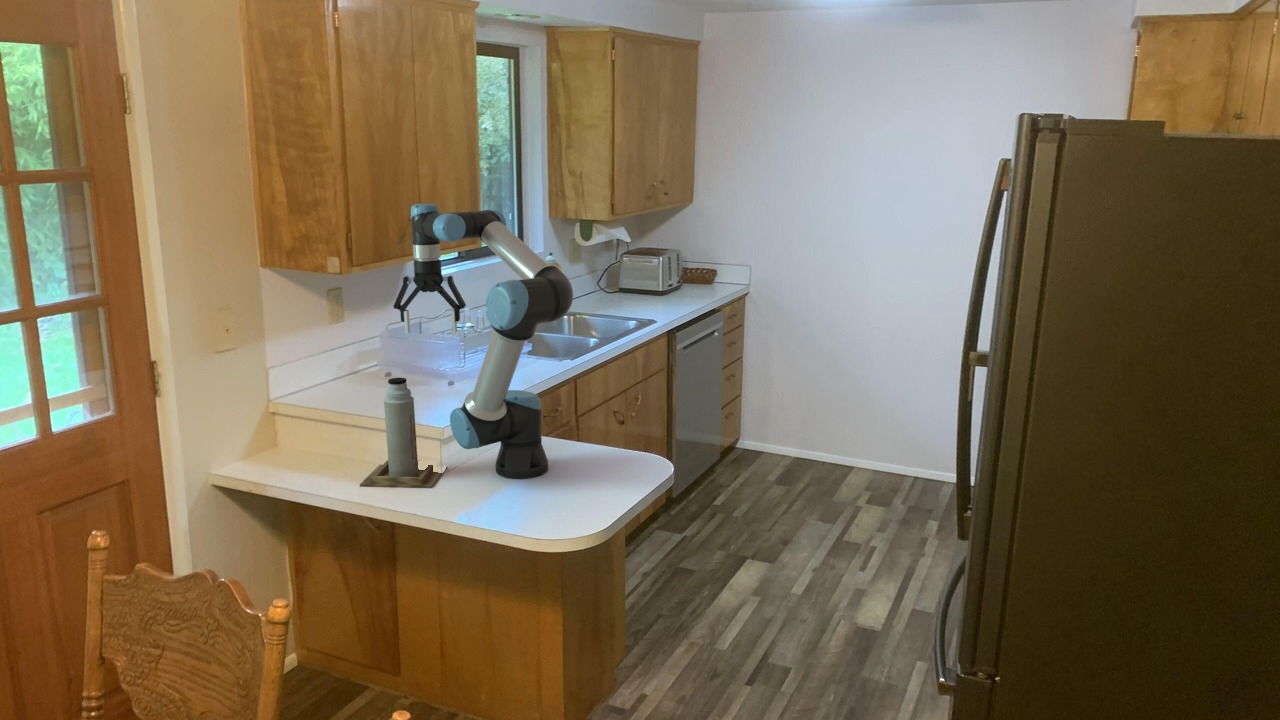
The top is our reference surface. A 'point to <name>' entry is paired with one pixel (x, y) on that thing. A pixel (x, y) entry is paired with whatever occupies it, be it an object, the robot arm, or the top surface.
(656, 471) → the top surface
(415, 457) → the thermos bottle
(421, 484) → the brown wooden tray
